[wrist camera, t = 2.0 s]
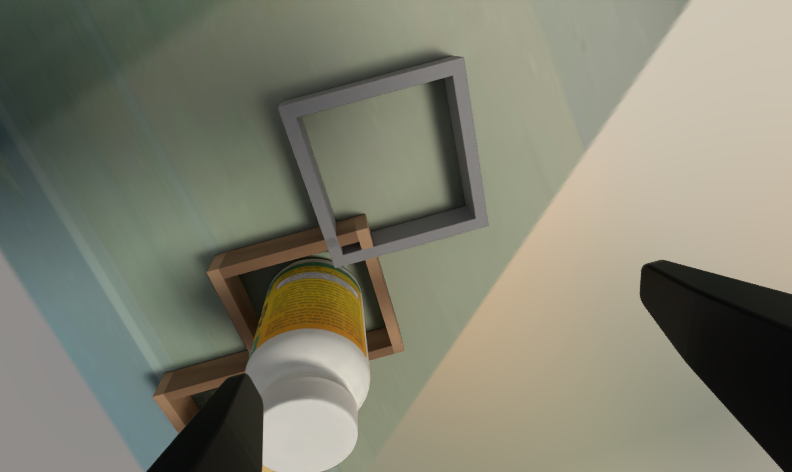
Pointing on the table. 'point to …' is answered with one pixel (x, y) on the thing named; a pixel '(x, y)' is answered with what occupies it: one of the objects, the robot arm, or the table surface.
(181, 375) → the frame
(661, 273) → the robot arm
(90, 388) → the table surface
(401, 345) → the frame
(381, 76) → the frame
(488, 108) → the table surface
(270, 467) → the supplement bottle
